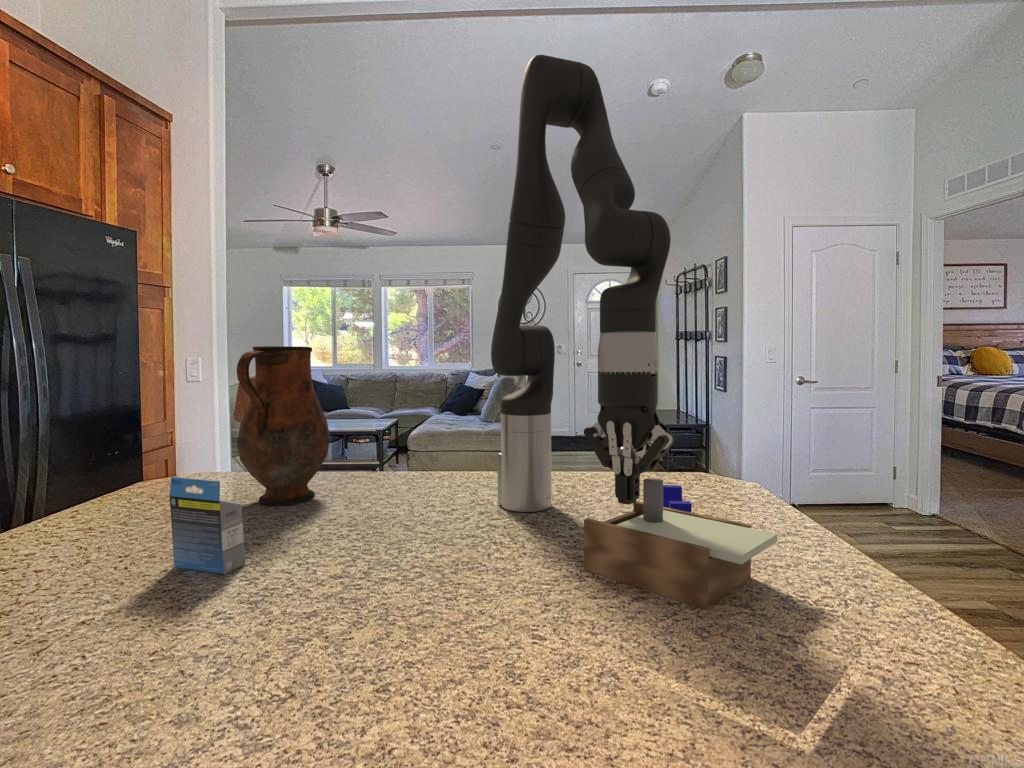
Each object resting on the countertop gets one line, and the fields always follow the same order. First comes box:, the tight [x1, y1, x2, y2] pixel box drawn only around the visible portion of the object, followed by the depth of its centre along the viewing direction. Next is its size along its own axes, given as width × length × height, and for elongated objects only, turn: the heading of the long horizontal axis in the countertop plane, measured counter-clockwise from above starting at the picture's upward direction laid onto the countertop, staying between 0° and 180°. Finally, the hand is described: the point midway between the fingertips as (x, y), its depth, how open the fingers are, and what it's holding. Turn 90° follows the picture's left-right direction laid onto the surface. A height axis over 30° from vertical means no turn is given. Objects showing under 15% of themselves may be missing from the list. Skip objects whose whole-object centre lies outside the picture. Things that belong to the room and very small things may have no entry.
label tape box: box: [169, 475, 246, 575], centre depth 75 cm, size 9×4×12 cm, turn 71°
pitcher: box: [236, 345, 331, 506], centre depth 108 cm, size 17×21×30 cm
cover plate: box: [617, 477, 779, 564], centre depth 67 cm, size 15×10×6 cm, turn 45°
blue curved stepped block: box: [663, 484, 693, 513], centre depth 89 cm, size 12×4×6 cm, turn 171°
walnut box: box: [583, 500, 752, 611], centre depth 70 cm, size 16×12×7 cm
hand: (627, 502), depth 73 cm, fingers closed
